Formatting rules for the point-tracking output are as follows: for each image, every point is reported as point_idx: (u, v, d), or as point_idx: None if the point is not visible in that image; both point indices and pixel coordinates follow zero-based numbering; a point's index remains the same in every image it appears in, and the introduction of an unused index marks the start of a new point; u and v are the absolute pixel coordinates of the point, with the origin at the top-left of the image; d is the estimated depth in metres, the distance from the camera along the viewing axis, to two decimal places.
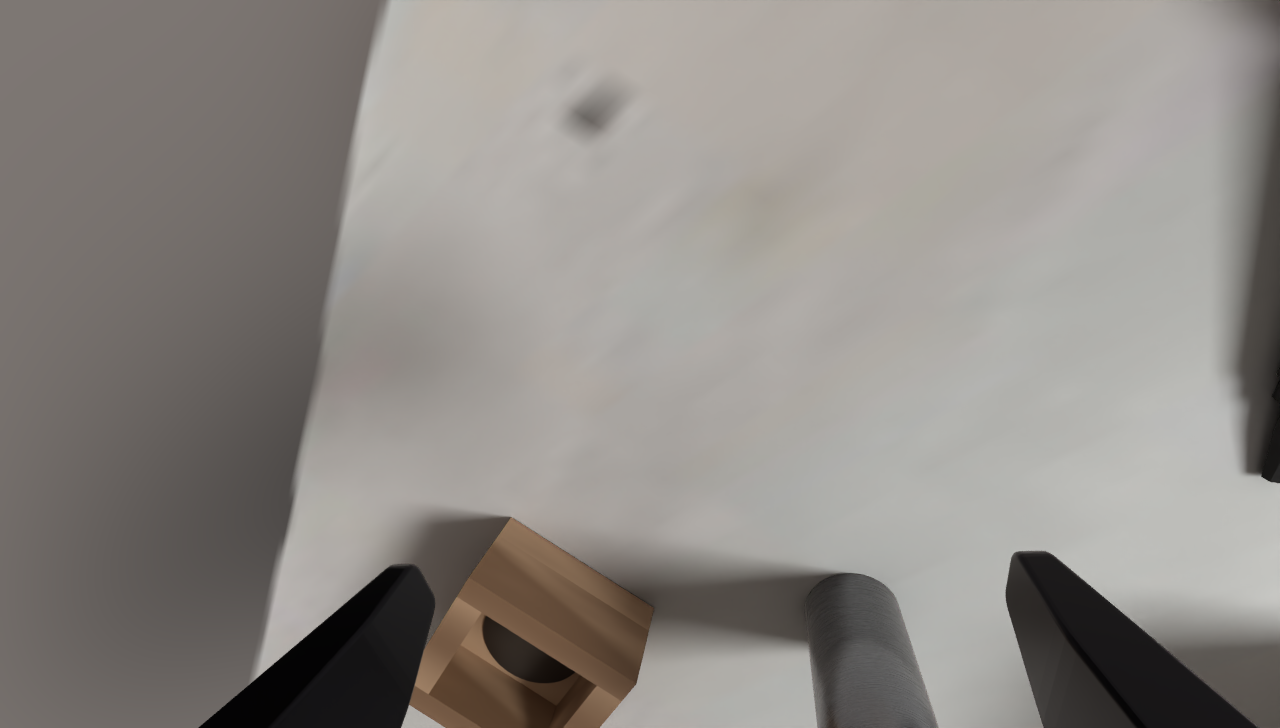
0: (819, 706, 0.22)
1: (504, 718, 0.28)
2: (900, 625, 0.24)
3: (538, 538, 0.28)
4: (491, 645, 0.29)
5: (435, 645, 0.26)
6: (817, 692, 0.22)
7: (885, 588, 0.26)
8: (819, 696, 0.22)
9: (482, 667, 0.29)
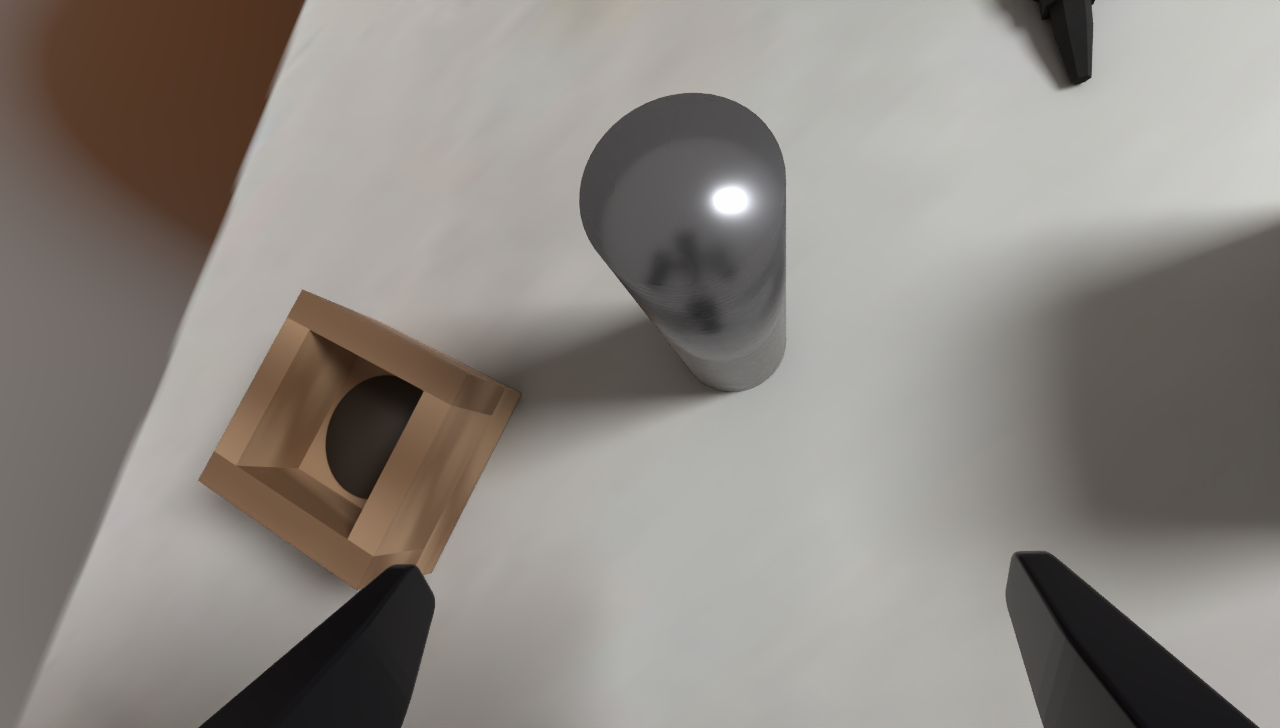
0: None
1: (323, 509, 0.22)
2: None
3: (401, 333, 0.27)
4: (333, 457, 0.25)
5: (255, 389, 0.23)
6: None
7: None
8: None
9: (317, 485, 0.24)
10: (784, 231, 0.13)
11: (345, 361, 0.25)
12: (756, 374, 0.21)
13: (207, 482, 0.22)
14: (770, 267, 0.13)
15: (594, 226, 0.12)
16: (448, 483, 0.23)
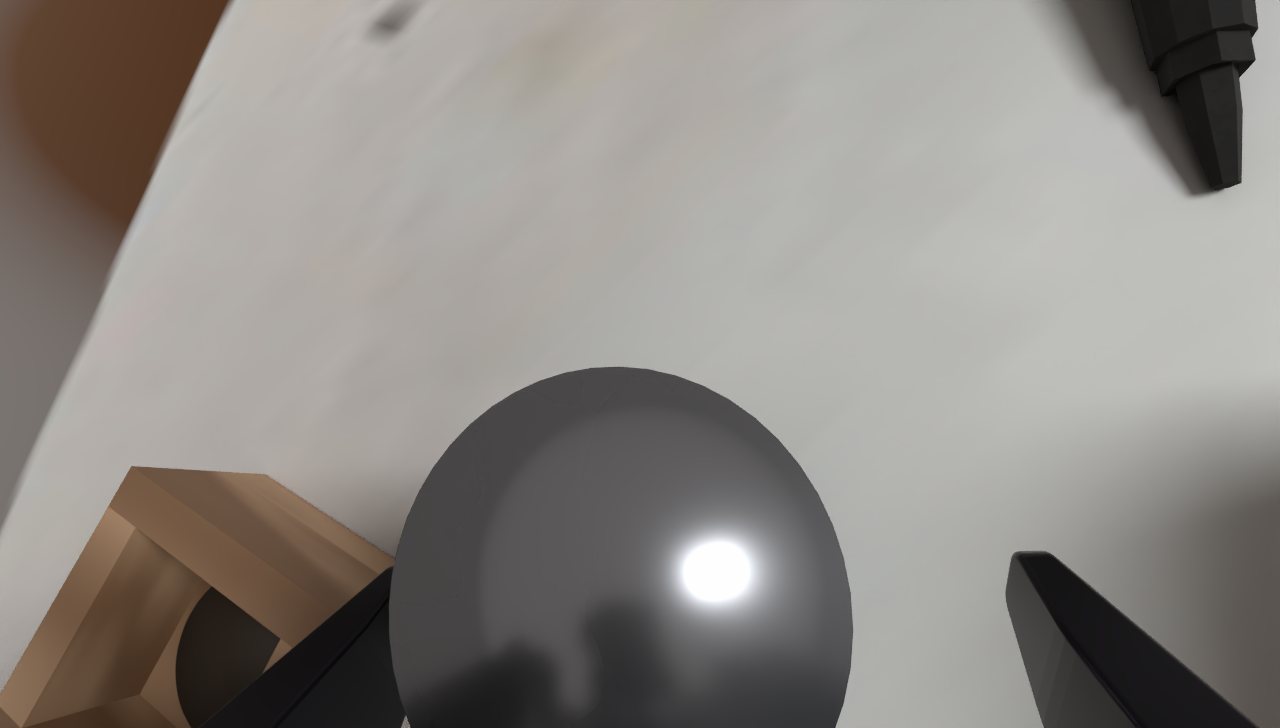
0: None
1: None
2: None
3: (293, 495, 0.20)
4: (184, 683, 0.18)
5: (57, 611, 0.16)
6: None
7: None
8: None
9: (158, 727, 0.18)
10: None
11: None
12: None
13: None
14: None
15: (415, 671, 0.05)
16: None
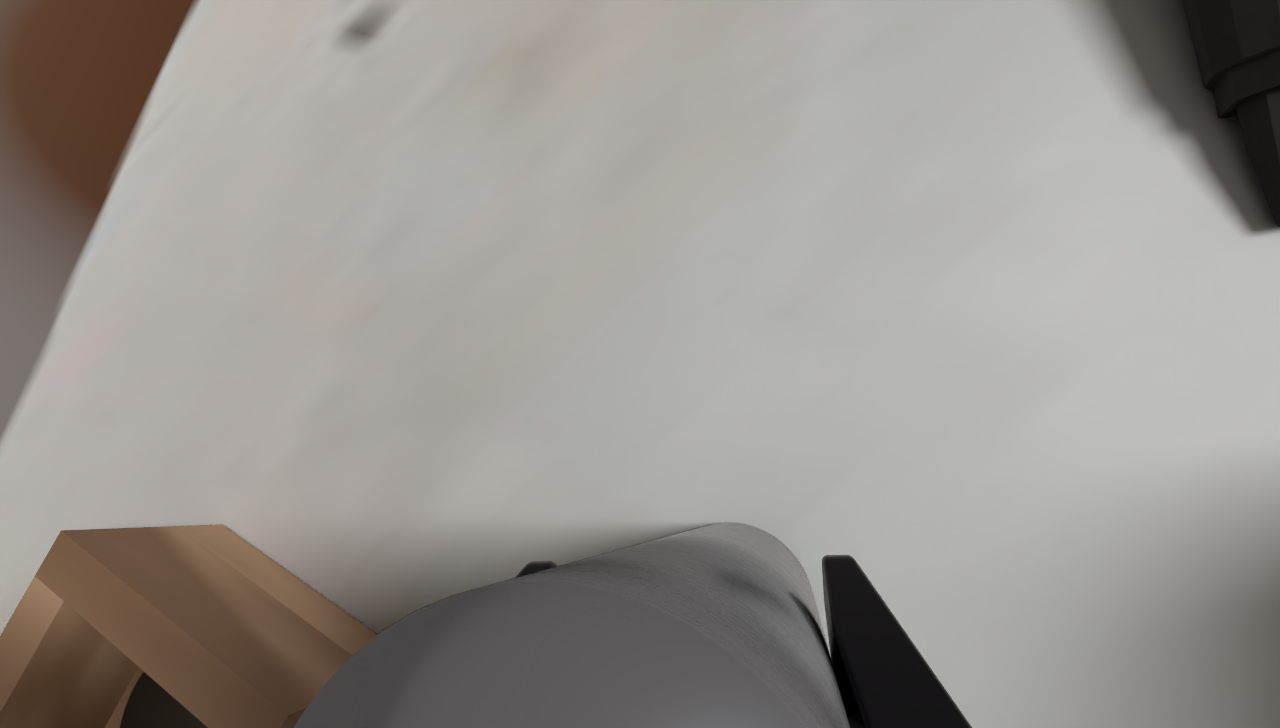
0: None
1: None
2: (780, 548, 0.13)
3: (252, 550, 0.18)
4: None
5: None
6: None
7: (772, 536, 0.15)
8: None
9: None
10: None
11: None
12: None
13: None
14: None
15: None
16: None
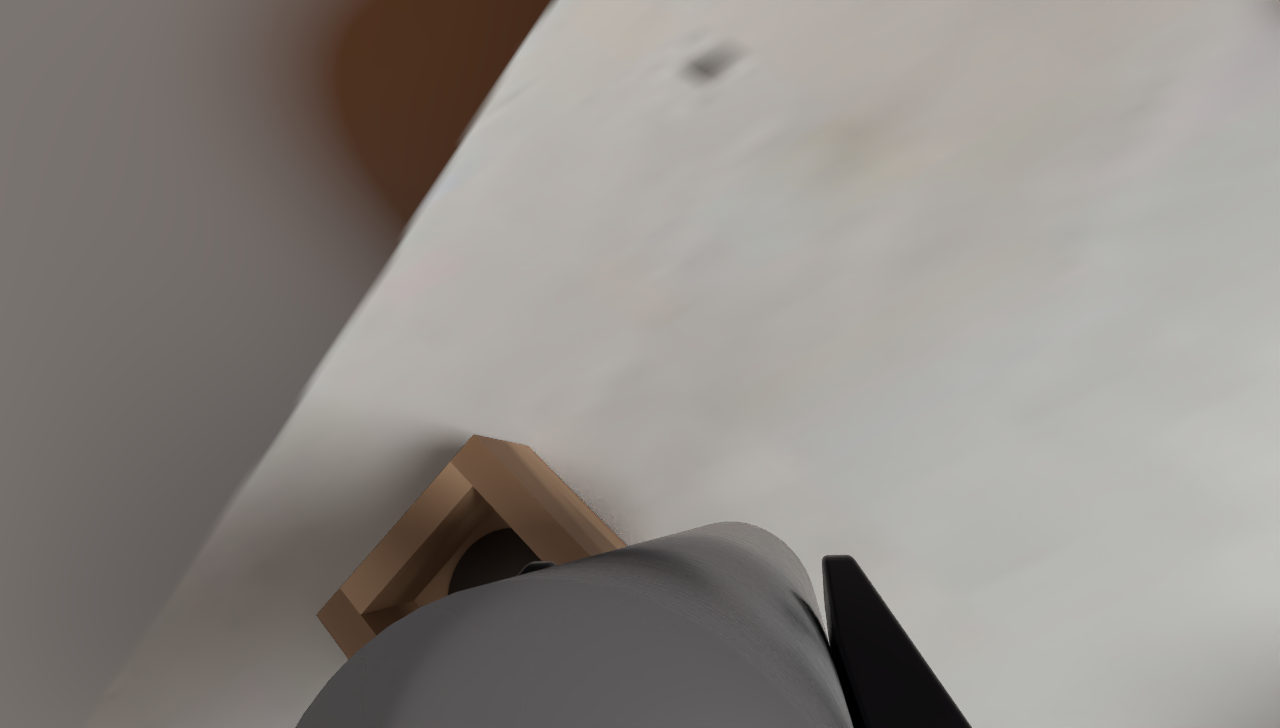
0: None
1: None
2: (781, 547, 0.13)
3: (553, 472, 0.24)
4: None
5: (398, 533, 0.20)
6: None
7: (773, 535, 0.15)
8: None
9: None
10: None
11: None
12: None
13: (325, 622, 0.20)
14: None
15: None
16: None
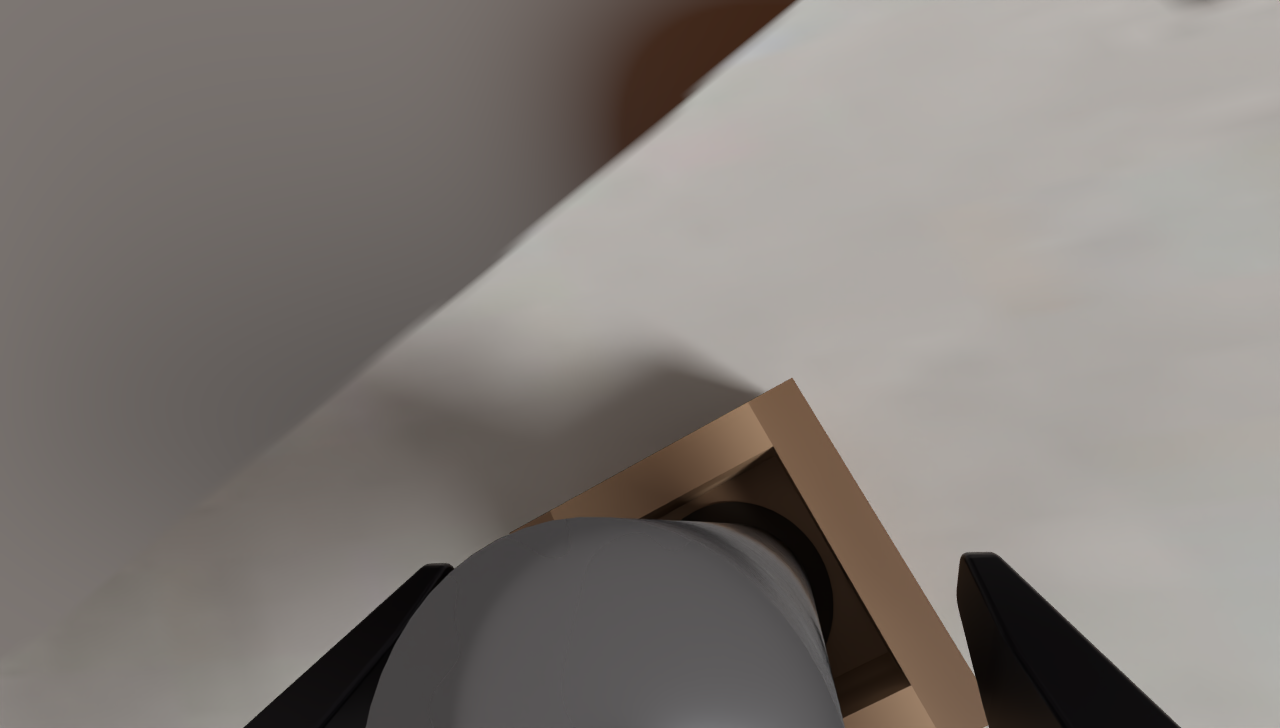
0: None
1: None
2: (780, 544, 0.14)
3: None
4: None
5: (649, 470, 0.15)
6: None
7: (773, 535, 0.16)
8: None
9: None
10: None
11: (750, 467, 0.17)
12: None
13: None
14: None
15: None
16: None
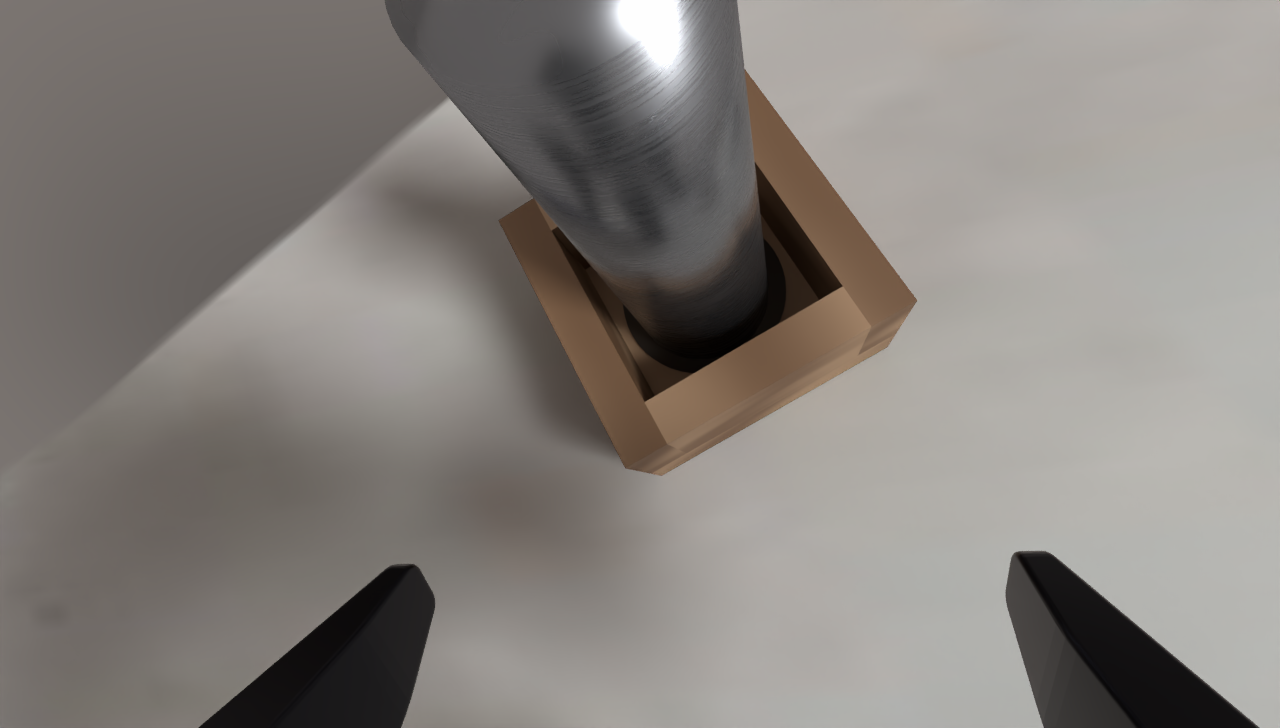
0: None
1: (617, 343, 0.17)
2: None
3: None
4: None
5: None
6: None
7: None
8: None
9: (602, 303, 0.19)
10: (735, 33, 0.08)
11: None
12: (728, 330, 0.16)
13: (508, 229, 0.17)
14: (713, 91, 0.08)
15: (403, 6, 0.07)
16: (767, 403, 0.17)
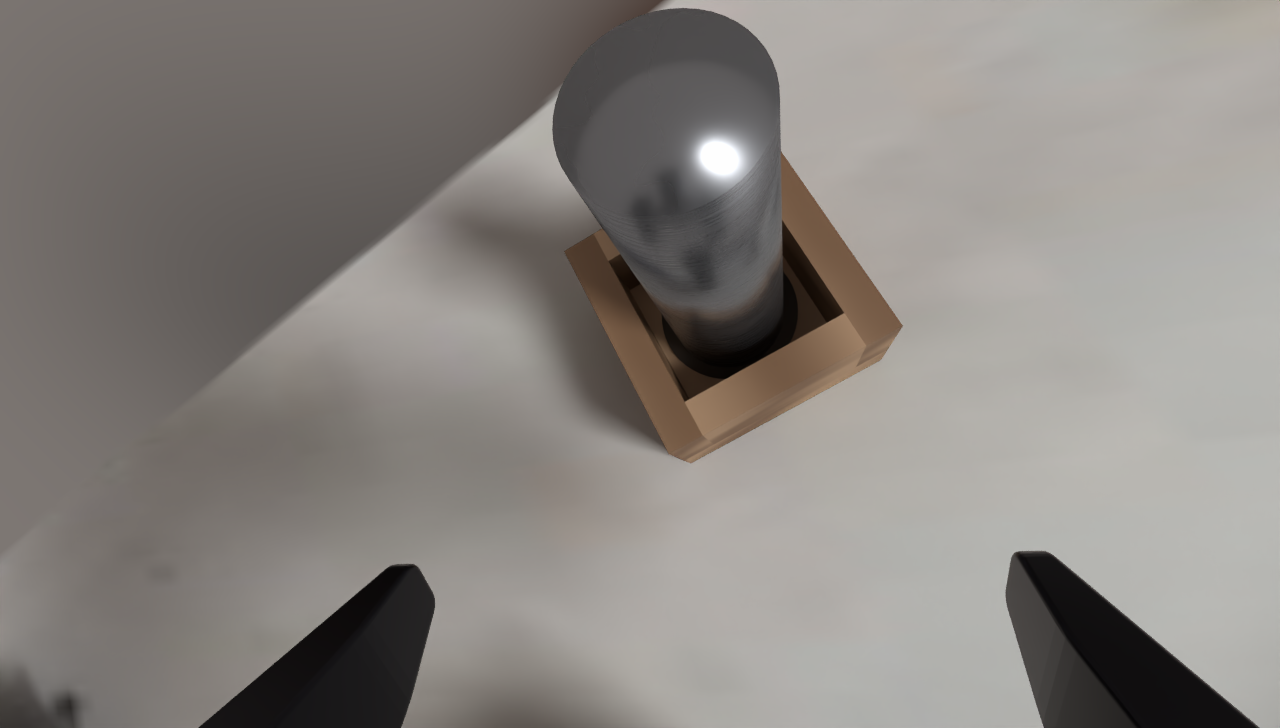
0: None
1: (660, 353, 0.21)
2: None
3: None
4: None
5: None
6: None
7: None
8: None
9: (645, 319, 0.23)
10: (779, 165, 0.12)
11: None
12: (752, 346, 0.20)
13: (572, 259, 0.21)
14: (763, 205, 0.12)
15: (568, 155, 0.11)
16: (781, 404, 0.21)
